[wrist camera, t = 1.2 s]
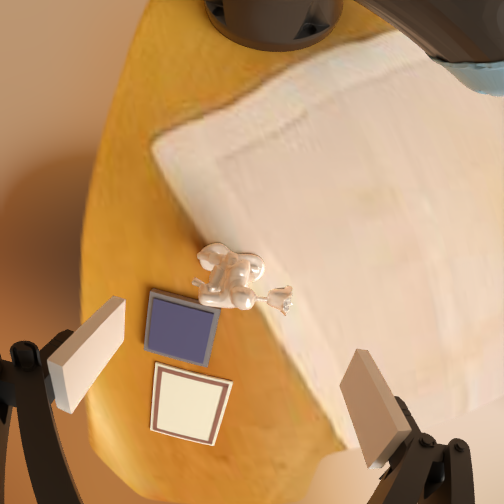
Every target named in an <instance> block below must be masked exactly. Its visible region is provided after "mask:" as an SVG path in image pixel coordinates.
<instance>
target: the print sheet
mask: <svg viewBox="0 0 504 504" xmlns="http://www.w3.org/2000/svg"><path fill="white" fill-rule="evenodd" d="M232 384H233V381H230V380H225V379H221V378H217V377H212V376H208V375H204V374H200V373H196V372H192V371H188V370H184V369H181V368H177V367H173V366H170V365H166V364H163V363H159V362H156V364H155V374H154V385H153V397H152V410H151V427H150V430H152V431H156V432H159V433H163V434H166V435H170V436H173V437H177V438H181V439H185V440H189V441H193V442H198V443H202V444H207V445H211V446H214V444H215V441H216V438H217V434H218V431H219V428H220V424H221V421H222V418H223V414H224V411H225V408H226V404H227V401H228V398H229V394H230V391H231V388H232Z"/></svg>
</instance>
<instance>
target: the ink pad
mask: <svg viewBox="0 0 504 504" xmlns="http://www.w3.org/2000/svg"><path fill="white" fill-rule="evenodd" d="M220 311H221V308H220V307H211V306H205V305H202V304H201V303H200V302H199V300H196V299H192V298H188V297H184V296H180V295H177V294H173V293H169V292H166V291H162V290H158V289H155V288H153V289H152V290H151V291H150V296H149V304H148V313H147V322H146V331H145V342H144V350H146V351H149V352H152V353H156V354H159V355H162V356H166V357H169V358H173V359H177V360H180V361H184V362H188V363H191V364H195V365H199V366H203V367H208V363H209V359H210V354H211V350H212V346H213V341H214V337H215V332H216V328H217V324H218V320H219V315H220Z"/></svg>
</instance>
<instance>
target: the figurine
mask: <svg viewBox="0 0 504 504" xmlns="http://www.w3.org/2000/svg"><path fill="white" fill-rule="evenodd" d="M197 258H198V259H199V261H200V264H201V266H202V267H203V268H204V269H206V270H209V271H211V274H210V276H209V283H208V284H205V283H204V282H202V281H201V280H199V279H198V278H196V277H194V278H193V281H192V284H193V285H195V286H198V287H199V294H198V298H199V302H200V303H201V304H202V305H205V306H211V307H220V308H235V307H236V308H239V309H240V310H248V309H251V308H252V306H253V305H254V303H255V301H265V302H267V304H268V305H270V306H272V307H274V308H277V309H279V310H281V312H282V313H283V314H284V315H285V316H286V313H287V312H288V311H289V306H290V305H291V304H292V303H291V297H292V287H291V286H287V287H285V288H276V289H272V290H270V291H269V293H268V297H257V296H256V294H255V292H254V291H253V290H252V289H250V288H248V284H249V283H252V282H254V281H257V280H258V279H260V278H261V276H262V275H263V273H264V271H265V263H264V261H263V260H262V259H261V258H260V257H259V256H257V255H254V254H236V253H234V252H232V251H230V250H229V249H228V248H227V247H226V246H225V245H223V244H221V243H213V244H210V245H207V246H206V247H204V248H203V249H202V250H201V251H200V252H199V253H198V254H197Z"/></svg>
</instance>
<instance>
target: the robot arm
mask: <svg viewBox="0 0 504 504" xmlns="http://www.w3.org/2000/svg"><path fill="white" fill-rule="evenodd" d="M354 1H356V2H357V3H359V4H361V5H362V6H364V7H366V8H367V9H369V10H370V11H372V12H373V13H375V14H377V15H378V16H380V17H381V18H382V19H384V20H385V21H387V22H388V23H390V24H391V25H393V26H394V27H395V28H397V29H398V30H399V31H401V32H402V33H403V34H405V35H406V36H407V37H408V38H410V39H411V40H412V41H413V42H415V43H416V44H417V45H418V46H419V47H421V48H422V49H423V50H424V51H425V53H426V54H427V55H428V56H429V57H430V58H431V59H432V60H433V61H434V62H436V63H438V64H440V65H442V66H443V67H444V68H446V69H447V70H448V71H449V72H450V73H451V74H453V75H454V76H455V77H456V78H457V79H458V80H459V81H460V82H461V83H462V84H464V85H465V86H466V87H468V88H469V89H471V90H473V91H475V92H477V93H481V94H489V95H491V96H497V97H500V96H504V0H354ZM204 4H205V7H206V10H207V14H208V16H209V19H210V21H211V22H212V24H213V25H214V26H215V28H216V29H217V30H218V31H219V32H220V33H222V34H223V35H224V36H226V37H227V38H229V39H230V40H232V41H234V42H236V43H238V44H240V45H243V46H246V47H249V48H252V49H257V50H262V51H272V52H285V51H294V50H299V49H303V48H306V47H309V46H311V45H314V44H316V43H318V42H319V41H321V40H323V39H324V38H325V37H326V36H328V35H329V34H330V32H331V31H332V30H333V28H334V27H335V25H336V23H337V22H338V20H339V18H340V16H341V13H342V9H343V0H204ZM125 303H126V299H123V298H120V297H116V296H113V297H112V298H110V299H109V300H108V301H107V302H106V303H105V304H104V305H103V306H102V307H101V308H100V309H98V310H97V311H96V312H95V313H94V314H93V315H92V316H91V317H90V318H89V319H88V320H87V321H86V322H85V323H84V324H83V325H82V326H81V327H80V328H79V329H77V330H76V331H75V332H73V331H71V330H68V329H67V330H65V331H62V332H60V333H58V334H57V335H56V336H55V337H54V338H53V339H52V340H51V341H50V342H49V344H47V345H45V346H44V347H43V348H42V349H41V350H40V351H39V349H38V347H37V345H35V344H34V343H32V342H30V341H19V342H16V343H14V344H13V345H12V346H11V348H10V354H11V358H12V362H10V361H6V360H2V359H1V355H0V504H4V480H5V462H6V451H7V450H6V449H7V442H8V434H9V426H10V420H11V414H12V408H13V407H17V414H18V421H19V428H20V434H21V439H22V445H23V450H24V455H25V460H26V464H27V468H28V472H29V476H30V480H31V483H32V487H33V490H34V493H35V497H36V500H37V503H38V504H84V503H83V501H82V499H81V497H80V494H79V492H78V489H77V487H76V485H75V482H74V479H73V477H72V474H71V471H70V469H69V466H68V463H67V460H66V457H65V454H64V452H63V448H62V445H61V441H60V438H59V434H58V431H57V427H56V423H55V420H54V416H53V411H52V408H51V403H52V402H53V400H54V399H55V400H56V405H57V408H59V409H61V410H64V411H66V412H68V413H70V414H72V413H73V411H74V410H75V408H76V407H77V405H78V404H79V402H80V401H81V399H82V398H83V397H84V395H85V394H86V392H87V391H88V389H89V388H90V387H91V385H92V384H93V382H94V381H95V380H96V378H97V377H98V375H99V374H100V373H101V371H102V370H103V368H104V367H105V366H106V364H107V363H108V361H109V360H110V359H111V357H112V356H113V355H114V353H115V352H116V350H117V349H118V348H119V346H120V345H121V344H122V342H123V341H124V321H125ZM339 386H340V388H341V391H342V394H343V397H344V400H345V402H346V405H347V408H348V411H349V414H350V417H351V420H352V423H353V426H354V429H355V431H356V434H357V437H358V440H359V443H360V446H361V449H362V452H363V455H364V459H365V462H366V464H367V468H368V469H375V468H382V467H383V466H384V465H385V463H386V462H387V461H389V464H390V467H389V468H388V469H387V471H386V472H385V473H384V474H383V475H382V476H381V477H380V478H379V479H380V480H381V479H382V480H381V481H380V483H379V485H378V487H377V488H376V490H375V492H374V493H373V495H372V496H371V498H370V500H369V501H368V503H367V504H475V496H474V482H473V472H472V463H471V455H470V449H469V446H468V444H467V443H466V442H465V441H463V440H461V439H457V438H454V439H452V440H451V441H450V442H449V444H448V445H442V444H437V443H436V440H435V439H434V438H433V437H432V436H430V435H429V434H426V433H421V431H420V429H419V427H418V426H417V424H416V422H415V420H414V418H413V417H412V416H411V413H410V411H409V410H408V408H407V406H406V404H405V402H403V401H402V400H401V399H400V398H399V397H398V396H393V394H392V392H391V390H390V388H389V387H388V385H387V383H386V381H385V379H384V378H383V376H382V374H381V372H380V371H379V369H378V367H377V365H376V364H375V362H374V360H373V358H372V357H371V355H370V353H369V351H368V350H361V349H356V351H355V353H354V356H353V358H352V360H351V362H350V364H349V367H348V369H347V371H346V373H345V375H344V377H343V379H342V381H341V383H340V385H339ZM417 502H418V503H417Z"/></svg>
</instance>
